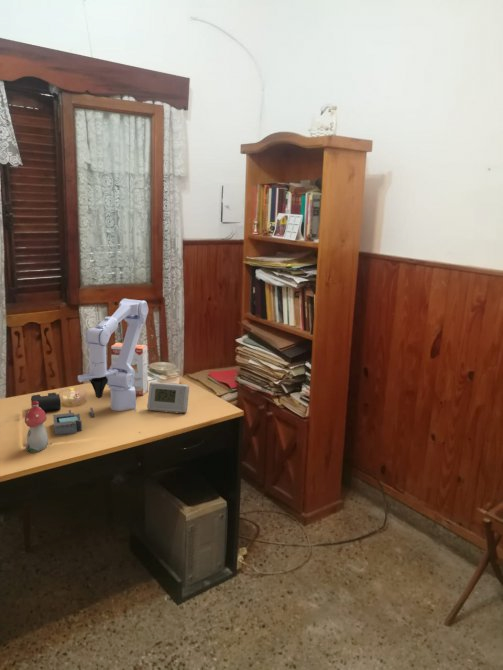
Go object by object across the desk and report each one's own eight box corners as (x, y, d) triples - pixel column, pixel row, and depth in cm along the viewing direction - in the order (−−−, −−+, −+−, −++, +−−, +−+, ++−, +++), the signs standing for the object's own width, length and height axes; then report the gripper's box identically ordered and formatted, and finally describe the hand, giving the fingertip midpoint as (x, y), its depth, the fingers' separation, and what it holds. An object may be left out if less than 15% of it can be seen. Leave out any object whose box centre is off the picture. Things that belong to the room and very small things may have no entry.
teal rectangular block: (79, 427, 187) (79, 415, 186) (81, 431, 184) (80, 419, 183) (59, 430, 184) (58, 418, 182) (60, 434, 181) (60, 422, 179)
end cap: (33, 417, 194) (32, 400, 192) (30, 410, 200) (29, 394, 198) (61, 413, 198) (60, 396, 197) (58, 406, 204) (57, 390, 203)
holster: (92, 412, 200) (92, 406, 199) (95, 420, 193) (94, 413, 193) (68, 415, 196) (67, 409, 195) (69, 423, 190) (69, 416, 189)
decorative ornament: (33, 440, 175) (30, 398, 172) (52, 441, 175) (50, 399, 172) (21, 453, 166) (18, 409, 163) (41, 454, 166) (39, 410, 163)
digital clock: (144, 410, 204) (144, 384, 202) (156, 402, 213) (156, 378, 210) (182, 417, 199) (182, 391, 197) (192, 409, 208) (192, 383, 205)
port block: (79, 423, 190) (79, 410, 189) (82, 434, 181) (81, 421, 180) (53, 426, 186) (53, 413, 185) (55, 438, 177) (54, 424, 176)
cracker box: (111, 393, 221) (110, 345, 216) (117, 388, 227) (116, 341, 222) (143, 396, 219) (142, 348, 214) (148, 391, 225) (147, 344, 220)
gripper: (111, 355, 193) (112, 390, 197) (73, 361, 184) (75, 397, 187) (120, 360, 188) (121, 395, 191) (82, 366, 179) (83, 403, 182)
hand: (98, 397), depth 189 cm, fingers closed
